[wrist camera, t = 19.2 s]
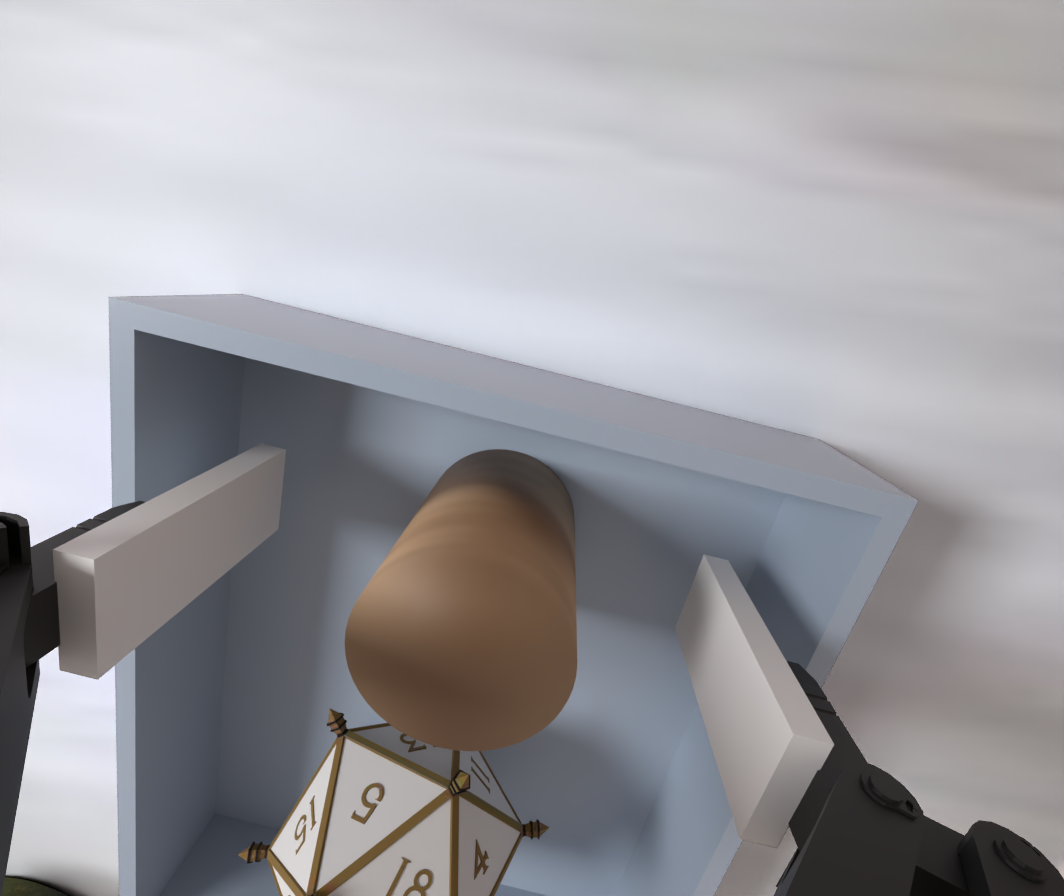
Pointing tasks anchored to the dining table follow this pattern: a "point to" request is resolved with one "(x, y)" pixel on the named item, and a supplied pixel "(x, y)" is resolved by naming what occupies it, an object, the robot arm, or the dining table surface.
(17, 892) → the mug
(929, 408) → the dining table surface
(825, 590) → the tote
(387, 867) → the game die
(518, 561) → the walnut cylinder
